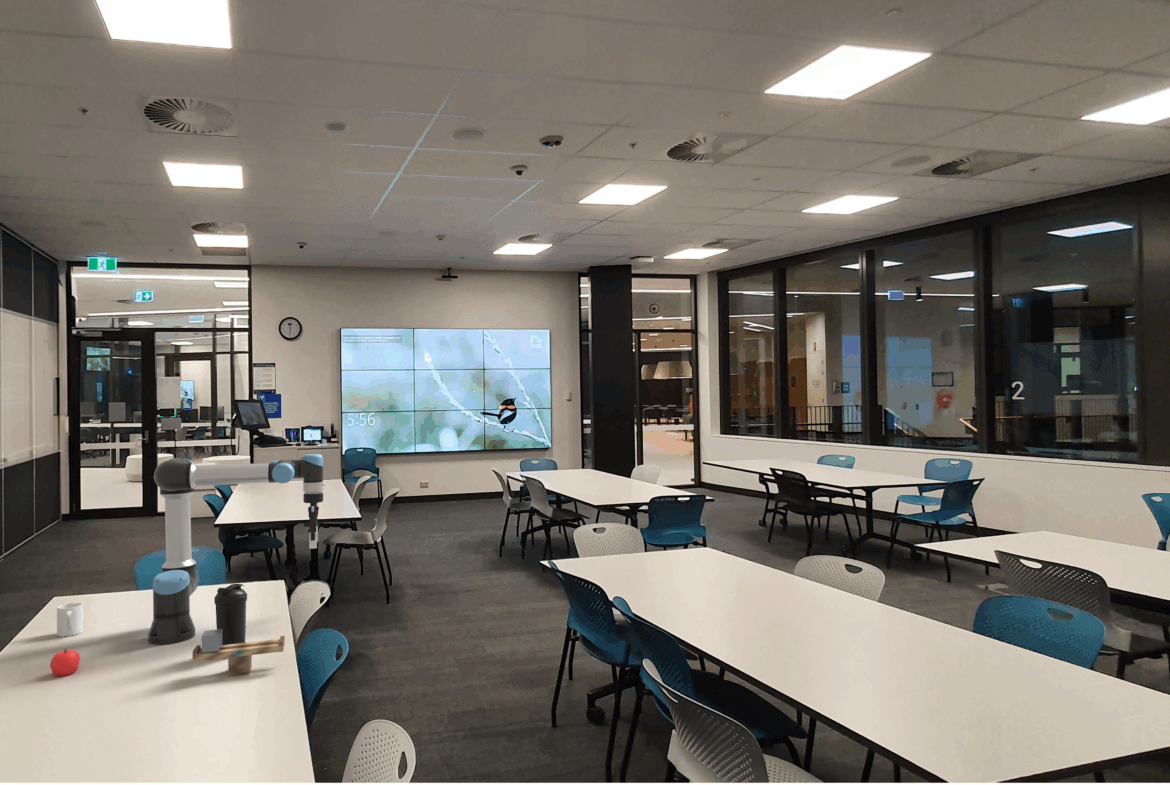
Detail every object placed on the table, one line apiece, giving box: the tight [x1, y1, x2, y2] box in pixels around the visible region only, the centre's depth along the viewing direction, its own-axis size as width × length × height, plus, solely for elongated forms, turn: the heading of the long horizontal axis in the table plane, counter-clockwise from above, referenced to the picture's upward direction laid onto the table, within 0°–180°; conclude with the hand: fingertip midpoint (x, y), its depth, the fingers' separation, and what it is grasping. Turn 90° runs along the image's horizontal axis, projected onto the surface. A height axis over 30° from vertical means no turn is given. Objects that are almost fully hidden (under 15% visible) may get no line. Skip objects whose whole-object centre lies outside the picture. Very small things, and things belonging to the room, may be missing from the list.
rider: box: [201, 628, 222, 653], centre depth 234 cm, size 5×6×7 cm
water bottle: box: [213, 583, 248, 645], centre depth 254 cm, size 10×10×23 cm
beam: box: [192, 635, 286, 678], centre depth 237 cm, size 26×7×9 cm, turn 109°
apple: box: [49, 648, 81, 677], centre depth 237 cm, size 8×8×8 cm
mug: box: [56, 602, 84, 638], centre depth 276 cm, size 12×8×10 cm, turn 32°
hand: (313, 545), depth 299 cm, fingers open, 13 cm apart
